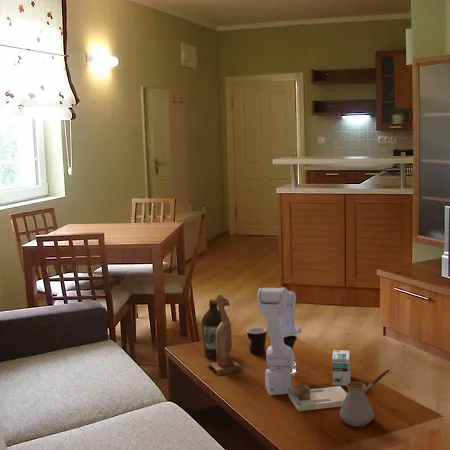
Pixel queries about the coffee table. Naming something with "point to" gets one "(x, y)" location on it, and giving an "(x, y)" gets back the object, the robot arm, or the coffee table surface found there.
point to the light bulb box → (341, 367)
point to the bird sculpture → (224, 342)
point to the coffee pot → (358, 404)
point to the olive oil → (211, 329)
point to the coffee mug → (256, 340)
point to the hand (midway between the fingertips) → (288, 354)
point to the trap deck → (319, 398)
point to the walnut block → (302, 392)
